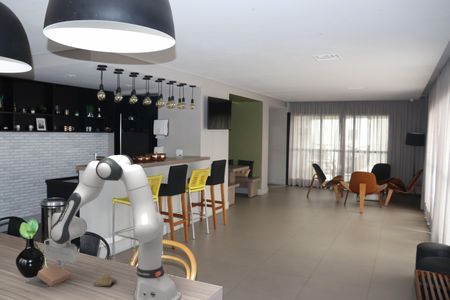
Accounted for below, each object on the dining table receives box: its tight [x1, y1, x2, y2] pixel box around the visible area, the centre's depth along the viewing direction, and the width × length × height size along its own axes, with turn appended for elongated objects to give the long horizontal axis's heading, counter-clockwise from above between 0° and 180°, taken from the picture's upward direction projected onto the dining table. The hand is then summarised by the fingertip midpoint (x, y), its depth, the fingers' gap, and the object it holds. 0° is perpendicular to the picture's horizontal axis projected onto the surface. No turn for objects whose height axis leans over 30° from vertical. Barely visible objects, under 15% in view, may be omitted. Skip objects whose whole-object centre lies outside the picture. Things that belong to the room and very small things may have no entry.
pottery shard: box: [93, 274, 117, 287], centre depth 184 cm, size 11×4×10 cm
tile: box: [36, 263, 72, 287], centre depth 187 cm, size 3×12×10 cm
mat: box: [25, 276, 50, 289], centre depth 188 cm, size 14×16×1 cm
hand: (61, 268), depth 184 cm, fingers closed
